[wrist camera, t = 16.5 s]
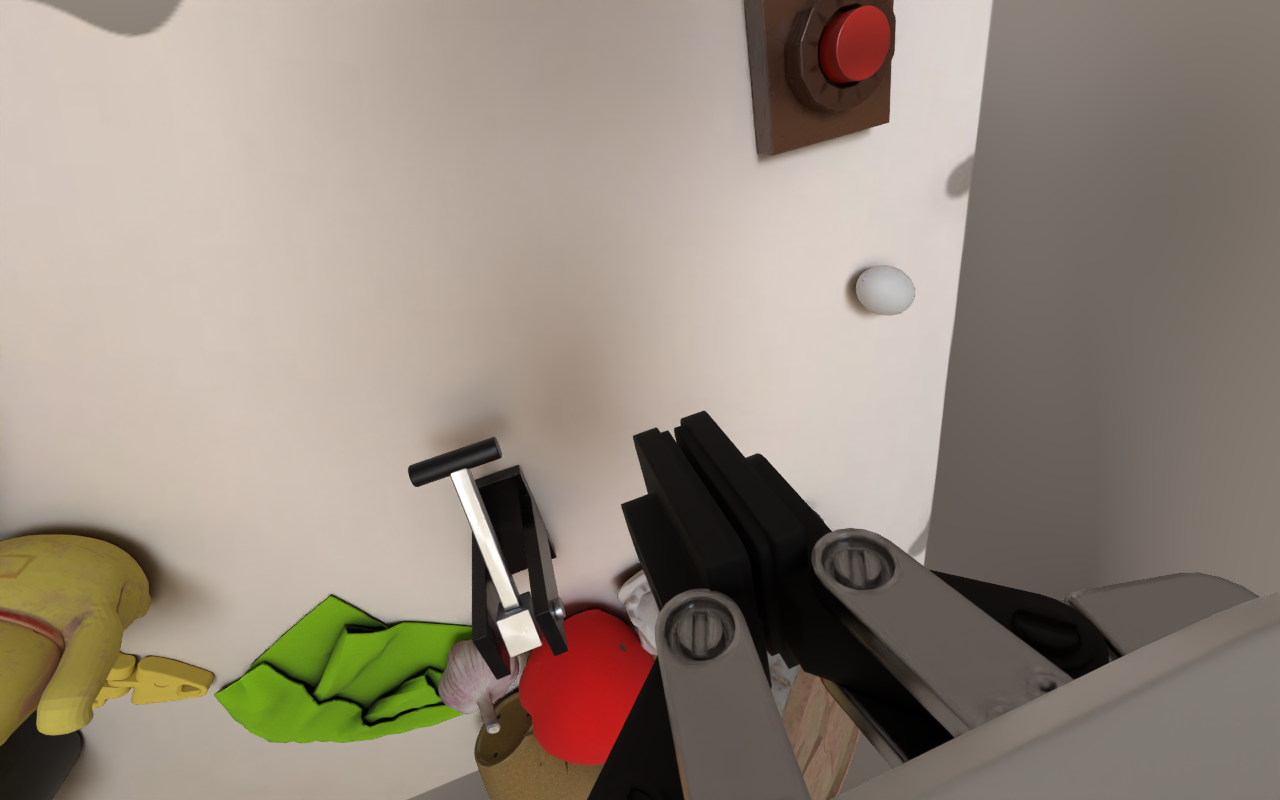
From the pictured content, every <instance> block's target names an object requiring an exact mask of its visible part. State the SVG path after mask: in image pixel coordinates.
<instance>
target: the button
mask: <svg viewBox="0 0 1280 800" xmlns="http://www.w3.org/2000/svg"><path fill="white" fill-rule="evenodd" d="M889 44H890V28H889V23H888V20H887V18H886V16H885V15H884V13H883V12H882V11H881V10H880V9H878V8H876V7H874V6H869V5H866V6H862V7H859V8H856V9H853V10H850V11H847V12H844V13H841V14H839V15H838V16H836V17H835V18H834V19H833V20H832V21H831V22H830V23H829V25H828V26H827V28H826V29H825V31H824V34H823V36H822V39H821V43H820V49H819V58H820V64H821V67H822V70H823V72H824V73H825V75H826V76H827V77H828V78H829V79H830V80H832V81H833V82H836V83H847V82H854V81H860V80H864V79H867V78H869V77H870V76H872V75H873V74H874V73H875V72H876V71H877V70H878V69H879V68H880V66H881V65H882V63H883V62H884V60H885V57H886V55H887V52H888V49H889Z"/></svg>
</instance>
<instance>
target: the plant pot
mask: <svg viewBox="0 0 1280 800" xmlns="http://www.w3.org/2000/svg"><path fill="white" fill-rule="evenodd" d="M495 712H496V716H497V719H498V721H499V724H500V730H499V732H497V733H493V734H491V733H488V732H487V730H486V727H485V724H483V726H482V728H481V730H480V732H479V735H478V737H477V741H476V744H475V760H476V763H477V766H478V769H479V772H480V775H481V777H482V780H483V782H484V785H485V788H486V790H487V792H488V795H489V797H490V799H491V800H587V798H588V796H589V794H590V792H591V790H592V788H593V786H594V784H595V782H596V780H597V778H598V776H599V774H600V772H601V770H602V768H603V766H604V764H605V763H603V764H600V765H580V764H572V763H569V762H567V764H568V775H567V769H566V764H565V761H564V760H561V759H559V758H557V757H554V756H552V755H549V754H547V752H546V751H545V750H544V748H543V747H542V746H541V745H540V743H539V742H538V741H537V739H536V738H535V737H534V734H532V735H529V736H523V735H524V734H526V733H528V732H530V731H532V730H533V725H532V716H531V715H530V714H529V713H528V712H527V711H526V710H525V709H524V708H523V706H522V705H521V703H520V701H519V692H516V693H514V694H512V695H510V696H509V697H507V698H506V699H505V700H503V701H502V702H501V703H500V704H499V705H498V706H497V707H496V708H495Z"/></svg>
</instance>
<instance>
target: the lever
mask: <svg viewBox="0 0 1280 800" xmlns="http://www.w3.org/2000/svg"><path fill="white" fill-rule="evenodd" d="M500 458H502V453H501V449H500V446H499V443H498V441H497V439H496V438H495V437H492V438H489V439H486V440H483V441H480V442H477V443H474V444H471V445H468V446H466V447H463V448H460V449H457V450H454V451H451V452H448V453H445V454H442V455H439V456H436V457H433V458H430V459H427V460H424V461H421V462H418V463H416V464H413V465H410V466H409V467H408V473H409V477H410V480H411V482H412V484H413V485H414V486H415V487H419V486H422V485H425V484H428V483H431V482H434V481H437V480H439V479H442V478H445V477H448V476H450V477H451V479H452V482H453V484H454V487H455V489H456V492H457V494H458V497H459V499H460V502H461V504H462V507H463V509H464V512H465V514H466V517H467V519H468V522H469V524H470V527H471V529H472V532H473V534H474V537H475V539H476V542H477V544H478V547H479V549H480V552H481V554H482V557H483V559H484V562H485V564H486V567H487V569H488V572H489V574H490V577H491V579H492V582H493V584H494V587H495V589H496V592H497V594H498V597H499V599H500V603H499V605H498V612H497V619H496V623H497V626H498V628H499V631H500V633H501V636H502V638H503V641H504V643H505V646H506V648H507V651H508V653H509V656H510V658H512V657H515V656H517V655H520V654H522V653H524V652H527V651H529V650H532V649H534V648H537V647H539V646H542V631H541V629H540V627H539V625H538V623H537V621H536V619H535V617H534V611H533V603H532V597H531V594H530V592H529V591H528V592H526V593H523V594H521V595H519V593H518V590H517V587H516V585H515V582H514V580H513V577H512V575H511V572H510V570H509V567H508V564H507V562H506V559H505V557H504V554H503V552H502V549H501V547H500V544H499V541H498V539H497V536H496V534H495V531H494V529H493V526H492V524H491V521H490V518H489V516H488V513H487V511H486V508H485V506H484V503H483V501H482V498H481V495H480V493H479V490H478V488H477V485H476V483H475V480H474V477H473V475H472V472H471V470H470V469H471V468H474V467H477V466H480V465H483V464H486V463H488V462H491V461H494V460H497V459H500Z"/></svg>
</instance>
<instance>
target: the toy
mask: <svg viewBox="0 0 1280 800" xmlns="http://www.w3.org/2000/svg"><path fill="white" fill-rule="evenodd" d="M135 662H136V658H135V657H134V656H132V655H125V654H122V653H121V652H120V651H119V653H118V656H117V659H116V661H115V663H114V665H113V667H112V669H111V671H110V673H109V675H108V677H107V679H106V681H105V683H104V685H103V687H102V689H101V691H100V692H99V694H98V696H97V698H96V699H95V701H94V703H93V705H92V708H98V707H101V706H102V705H104V704H105V702H106V701H107V699H111V698H119V697H121V696H123V695H125V694H126V693H128V692H129V690H130V689H131V687H134V688H133V694H132V699H131V702H132V703H133V704H135V705H140V704H149V703H157V702H166V701H174V700H181V699H188V698H195V697H200V696H203V695H205V694H206V693H207V691H208V689H209V687H210V685H211V683H212V680H213V678H214V675H213V674H212V673H211V672H209V671H206V670H203V669H200V668H197V667H194V666H191V665H188V664H185V663H181V662H178V661H175V660H171V659H166V658H161V657H155V656H151V657H146V658H144V659H142V660H141V661H140V662H139V663H138V666H135Z"/></svg>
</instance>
